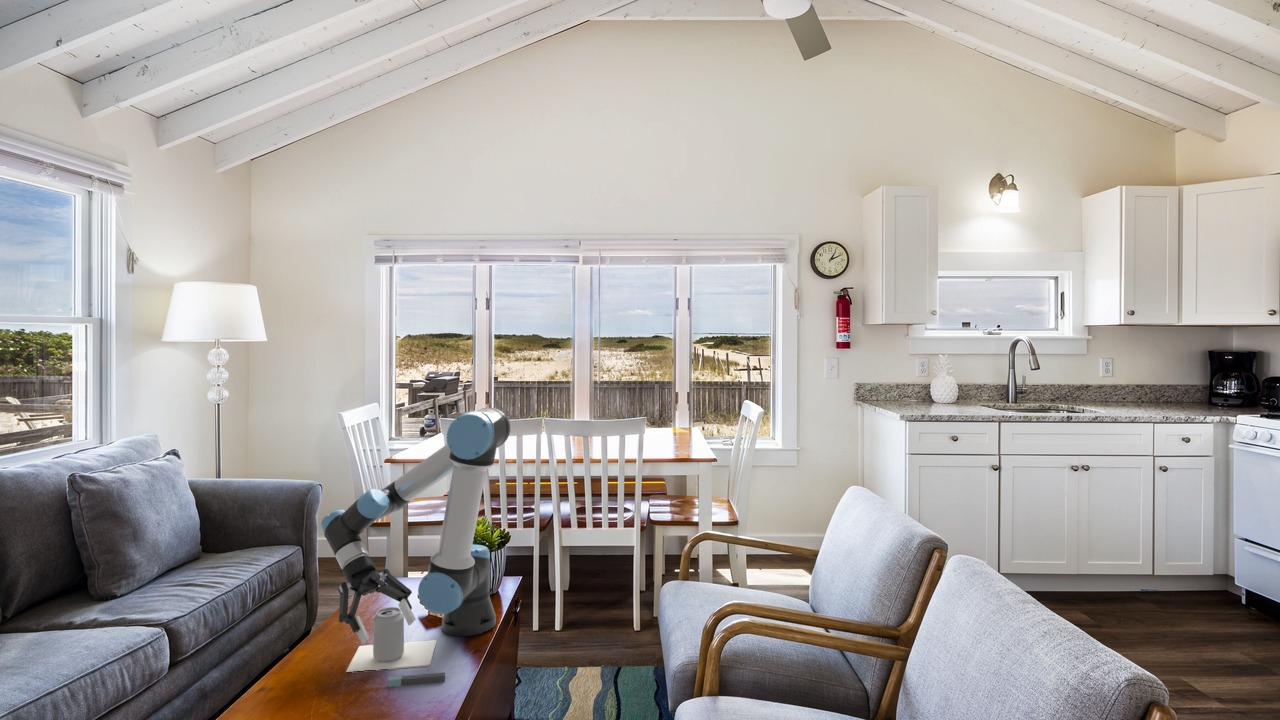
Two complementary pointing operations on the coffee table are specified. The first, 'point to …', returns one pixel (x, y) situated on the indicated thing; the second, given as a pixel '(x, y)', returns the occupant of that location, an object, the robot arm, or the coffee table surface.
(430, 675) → the marker
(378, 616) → the can
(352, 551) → the robot arm
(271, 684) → the coffee table surface
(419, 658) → the paper
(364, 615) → the coffee table surface
